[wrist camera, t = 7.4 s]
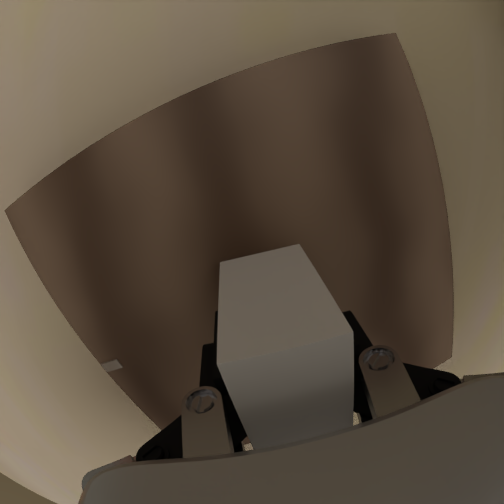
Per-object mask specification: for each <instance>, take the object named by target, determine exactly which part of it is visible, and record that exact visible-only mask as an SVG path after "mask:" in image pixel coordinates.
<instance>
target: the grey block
mask: <svg viewBox="0 0 504 504" xmlns="http://www.w3.org/2000/svg"><path fill="white" fill-rule="evenodd" d="M217 366H218V368H219V371H220V373H221V376H222V378H223V381H224V383H225V386H226V388H227V390H228V393H229V395H230V397H231V400H232V402H233V404H234V407H235V409H236V411H237V414H238V416H239V418H240V420H241V423H242V425H243V427H244V429H245V431H246V434H247V436H248V438H249V440H250V442H251V444H252V447H253V449H260V448H266V447H271V446H276V445H281V444H286V443H291V442H295V441H299V440H304V439H308V438H312V437H316V436H320V435H323V434H327V433H331V432H334V431H338V430H341V429H344V428H347V427H351V426H353V408H354V338H353V330H352V328H351V327H350V325H349V323H348V322H347V320H346V318H345V317H344V315H343V313H342V312H341V310H340V308H339V307H338V305H337V303H336V302H335V300H334V298H333V297H332V295H331V294H330V292H329V290H328V289H327V287H326V285H325V284H324V282H323V281H322V279H321V277H320V276H319V274H318V273H317V271H316V269H315V268H314V266H313V265H312V263H311V261H310V260H309V258H308V257H307V255H306V254H305V252H304V250H303V249H302V247H301V246H300V244H296V245H292V246H288V247H283V248H279V249H275V250H270V251H266V252H262V253H257V254H253V255H249V256H245V257H240V258H236V259H232V260H227V261H223V262H220V274H219V299H218V331H217Z"/></svg>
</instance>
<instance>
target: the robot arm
mask: <svg viewBox="0 0 504 504" xmlns="http://www.w3.org/2000/svg"><path fill="white" fill-rule="evenodd" d="M342 313H343V315H344V317H345V318H346V320H347V322H348V323H349V325H350V327H351V328H352V330H353V338H354V408H353V412H356V413H357V416H358V420H359V424H357V425H354V426H351V427H347V428H344V429H341V430H338V431H334V432H331V433H327V434H323V435H320V436H316V437H312V438H308V439H304V440H299V441H295V442H291V443H286V444H281V445H276V446H271V447H266V448H260V449H254V450H248V451H245V447H244V443H243V440H244V439H245V438H246V437H247V434H246V431H245V429H244V427H243V425H242V423H241V420H240V418H239V416H238V414H237V411H236V409H235V407H234V404H233V402H232V400H231V397H230V395H229V393H228V390H227V388H226V386H225V383H224V381H223V378H222V376H221V373H220V371H219V368H218V366H217V331H218V311H215V324H214V343H209V344H204V345H203V347H202V358H201V370H200V383H199V387H198V388H195V389H193V390H191V391H190V392H188V393H187V394H186V395H185V396H184V398H183V400H182V404H181V415H180V416H179V417H178V418H177V419H175V420H174V421H173V422H172V423H170V424H169V425H168V426H167V427H165V428H164V429H163V430H162V431H160V432H159V433H158V434H157V435H155V436H154V437H153V438H152V439H150V440H149V441H148V442H146V443H145V444H144V445H143V446H142V447H141V448H140V449H139V450H138V452H137V455H136V456H134V457H132V456H131V455H129V456H127V457H124V458H122V459H120V460H117V461H115V462H112V463H110V464H107V465H105V466H102V467H100V468H97V469H94V470H92V471H90V472H88V473H87V474H86V475H85V476H84V477H83V480H82V489H83V492H82V494H81V497H80V500H79V503H78V504H504V372H502V373H492V374H480V375H464V376H463V379H459V378H458V377H457V376H456V375H454V374H452V373H449V372H445V371H440V370H435V369H430V368H425V367H421V366H416V365H412V364H407V363H403V362H402V361H401V359H400V357H399V355H398V353H397V352H396V350H394V349H393V348H391V347H389V346H386V345H375V346H373V345H372V343H371V341H370V340H369V338H368V337H367V335H366V333H365V332H364V330H363V329H362V327H361V326H360V324H359V322H358V321H357V319H356V318H355V316H354V315H353V313H352V312H351V311H350V310H349V311H345V312H342Z"/></svg>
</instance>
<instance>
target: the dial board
mask: <svg viewBox="0 0 504 504" xmlns="http://www.w3.org/2000/svg"><path fill="white" fill-rule="evenodd" d="M5 212H6V215H7V217H8V219H9V221H10V223H11V225H12V227H13V229H14V231H15V233H16V236H17V237H18V239H19V241H20V243H21V245H22V247H23V249H24V251H25V253H26V255H27V257H28V258H29V260H30V262H31V264H32V265H33V267H34V269H35V271H36V272H37V274H38V276H39V278H40V279H41V281H42V283H43V284H44V286H45V287H46V289H47V291H48V292H49V294H50V295H51V297H52V299H53V300H54V302H55V303H56V305H57V306H58V308H59V309H60V311H61V312H62V314H63V315H64V317H65V318H66V319H67V321H68V322H69V324H70V325H71V326H72V328H73V329H74V331H75V332H76V333H77V335H78V336H79V337H80V339H81V340H82V341H83V343H84V344H85V345H86V347H87V348H88V349H89V351H90V352H91V353H92V354H93V356H94V357H95V358H96V359H97V361H98V362H99V363H100V364H101V366H102V367H103V368H104V369H105V370H106V372H107V373H108V374H109V375H110V376H111V377H112V379H113V380H114V381H115V382H116V383H117V384H118V385H119V386H120V388H121V389H122V390H123V391H124V392H125V393H126V394H127V395H128V396H129V397H130V399H131V400H132V401H133V402H134V403H135V404H136V405H137V406H138V407H139V408H140V409H141V410H142V411H143V412H144V413H145V414H146V415H147V416H148V417H149V418H150V419H151V420H152V421H153V422H154V423H155V424H156V425H157V426H158V427H159V428H160V429H161V430H163V429H164V428H165V427H167V426H168V425H169V424H170V423H172V422H173V421H174V420H175V419H177V418H178V417H179V416H180V415H181V404H182V400H183V398H184V396H185V395H186V394H187V393H188V392H190V391H191V390H193V389H195V388H198V387H199V383H200V370H201V358H202V347H203V345H204V344H209V343H214V324H215V311H218V299H219V274H220V262H223V261H227V260H232V259H236V258H240V257H245V256H249V255H253V254H257V253H262V252H266V251H270V250H275V249H279V248H283V247H288V246H292V245H296V244H300V246H301V247H302V249H303V250H304V252H305V254H306V255H307V257H308V258H309V260H310V261H311V263H312V265H313V266H314V268H315V269H316V271H317V273H318V274H319V276H320V277H321V279H322V281H323V282H324V284H325V285H326V287H327V289H328V290H329V292H330V294H331V295H332V297H333V298H334V300H335V302H336V303H337V305H338V307H339V308H340V310H341V312H345V311H349V310H350V311H351V312H352V313H353V315H354V316H355V318H356V319H357V321H358V322H359V324H360V326H361V327H362V329H363V330H364V332H365V333H366V335H367V337H368V338H369V340H370V341H371V343H372V345H373V346H375V345H386V346H389V347H391V348H393V349H394V350H396V352H397V353H398V355H399V357H400V359H401V361H402V362H403V363H407V364H412V365H416V366H421V367H425V368H430V369H433V368H435V367H436V366H438V365H440V364H441V363H443V362H445V361H446V360H448V359H450V358H451V357H452V345H453V318H454V295H453V268H452V253H451V242H450V232H449V223H448V216H447V208H446V202H445V195H444V190H443V184H442V179H441V173H440V169H439V164H438V159H437V155H436V150H435V146H434V142H433V138H432V134H431V131H430V127H429V123H428V120H427V116H426V113H425V110H424V106H423V103H422V100H421V97H420V94H419V91H418V88H417V85H416V82H415V79H414V77H413V74H412V71H411V69H410V66H409V63H408V61H407V58H406V56H405V53H404V51H403V49H402V46H401V44H400V42H399V39H398V37H397V35H396V33H392V34H384V35H378V36H371V37H365V38H360V39H354V40H349V41H344V42H339V43H335V44H330V45H326V46H322V47H318V48H314V49H310V50H306V51H302V52H299V53H295V54H292V55H288V56H285V57H282V58H278V59H275V60H272V61H269V62H266V63H263V64H260V65H257V66H254V67H251V68H248V69H245V70H243V71H240V72H237V73H234V74H232V75H229V76H227V77H224V78H222V79H219V80H217V81H214V82H212V83H209V84H207V85H205V86H202V87H200V88H198V89H195V90H193V91H191V92H189V93H186V94H184V95H182V96H180V97H178V98H176V99H174V100H171V101H169V102H167V103H165V104H163V105H161V106H159V107H157V108H155V109H153V110H151V111H150V112H148V113H146V114H144V115H142V116H140V117H138V118H136V119H135V120H133V121H131V122H129V123H127V124H126V125H124V126H122V127H120V128H119V129H117V130H115V131H114V132H112V133H110V134H108V135H107V136H105V137H104V138H102V139H100V140H99V141H97V142H95V143H94V144H92V145H91V146H89V147H88V148H86V149H85V150H83V151H82V152H80V153H79V154H77V155H76V156H74V157H73V158H71V159H70V160H68V161H67V162H65V163H64V164H63V165H61V166H60V167H58V168H57V169H56V170H54V171H53V172H51V173H50V174H49V175H47V176H46V177H45V178H43V179H42V180H41V181H40V182H38V183H37V184H36V185H34V186H33V187H32V188H31V189H29V190H28V191H27V192H26V193H24V194H23V195H22V196H21V197H20V198H18V199H17V200H16V201H15V202H14V203H12V204H11V205H10V206H9V207H8V208H7V209H6V210H5ZM243 443H244V444H248V443H251V442H250V440H249V438H248V436H247V437H246V438H245V439H244V440H243Z"/></svg>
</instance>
